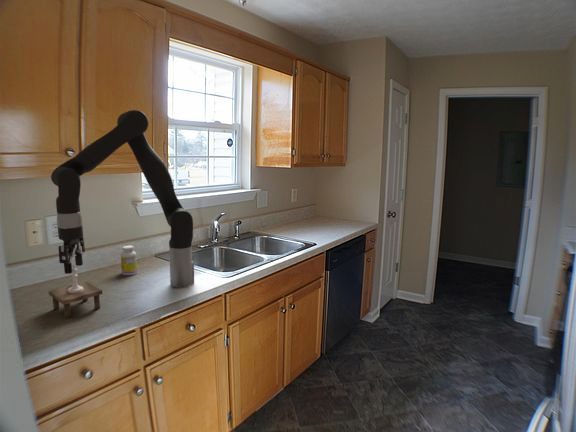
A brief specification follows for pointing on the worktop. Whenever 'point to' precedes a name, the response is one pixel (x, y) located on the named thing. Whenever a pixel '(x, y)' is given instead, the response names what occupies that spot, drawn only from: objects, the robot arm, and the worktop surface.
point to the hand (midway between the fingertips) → (74, 269)
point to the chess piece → (75, 282)
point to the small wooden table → (74, 297)
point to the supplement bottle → (128, 261)
